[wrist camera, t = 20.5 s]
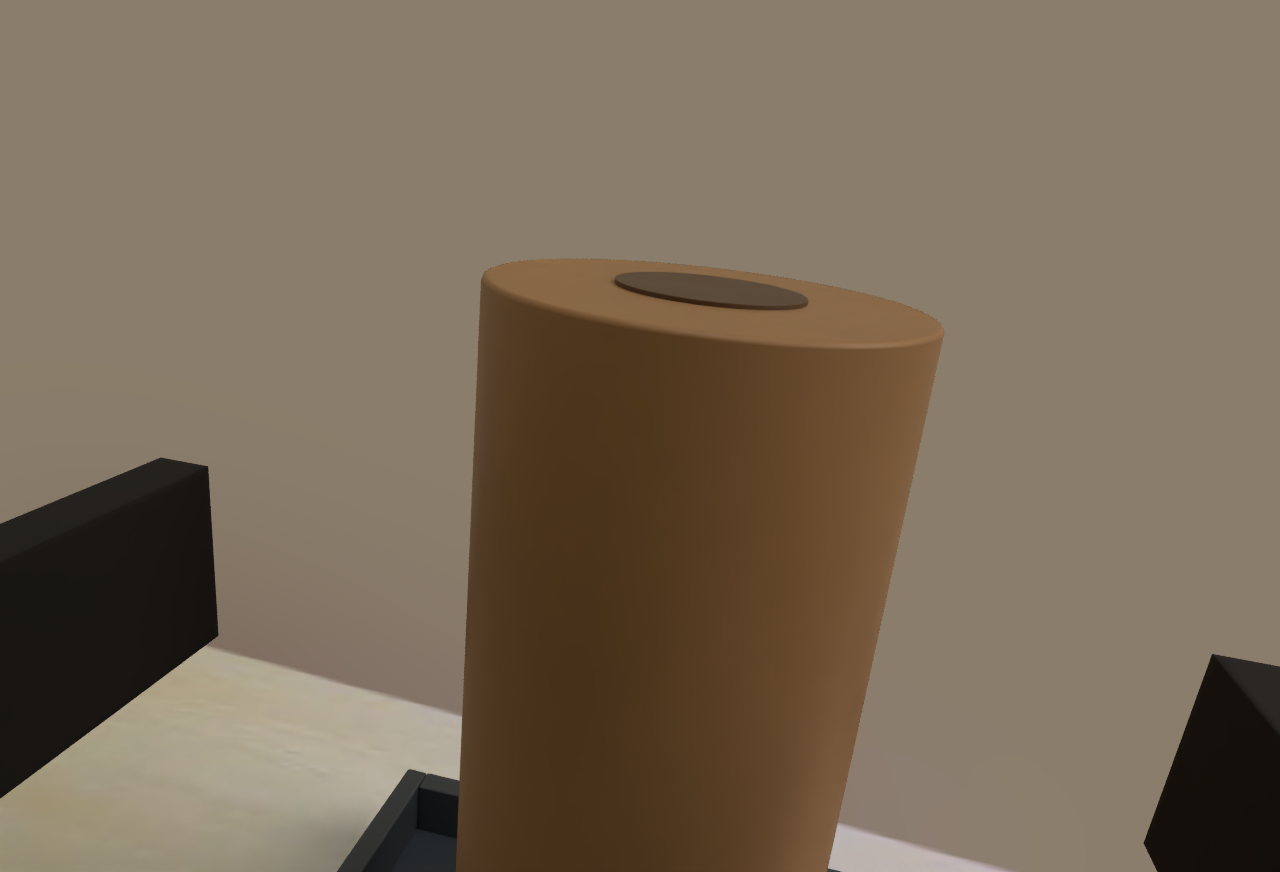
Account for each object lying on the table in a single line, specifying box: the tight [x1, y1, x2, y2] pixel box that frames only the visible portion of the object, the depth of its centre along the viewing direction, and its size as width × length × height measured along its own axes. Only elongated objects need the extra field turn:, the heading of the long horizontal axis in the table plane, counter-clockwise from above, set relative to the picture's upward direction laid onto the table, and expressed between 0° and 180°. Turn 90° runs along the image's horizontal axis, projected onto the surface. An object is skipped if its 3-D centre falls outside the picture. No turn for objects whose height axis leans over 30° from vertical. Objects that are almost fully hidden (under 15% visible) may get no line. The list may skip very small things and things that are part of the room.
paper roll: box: [456, 259, 944, 872], centre depth 16 cm, size 7×7×17 cm
